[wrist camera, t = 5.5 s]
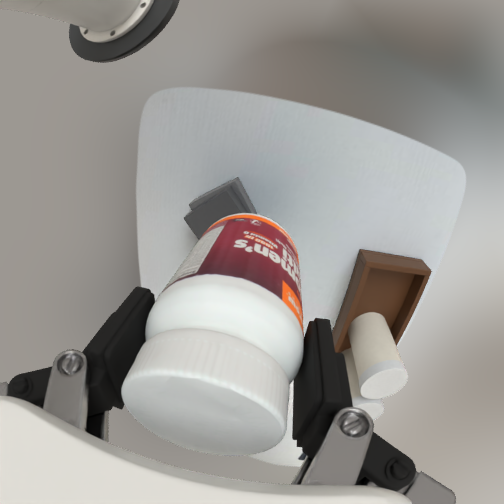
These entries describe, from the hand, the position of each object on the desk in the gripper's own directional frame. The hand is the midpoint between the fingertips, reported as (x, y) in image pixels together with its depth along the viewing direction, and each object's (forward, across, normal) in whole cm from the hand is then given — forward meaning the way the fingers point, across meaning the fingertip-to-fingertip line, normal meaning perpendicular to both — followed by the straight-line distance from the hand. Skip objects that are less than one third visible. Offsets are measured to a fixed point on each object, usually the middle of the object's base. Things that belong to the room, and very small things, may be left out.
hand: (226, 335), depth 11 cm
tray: (+23, -18, +18) cm, 34 cm away
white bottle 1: (+22, -18, +16) cm, 33 cm away
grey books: (+23, +3, +3) cm, 23 cm away
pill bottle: (+7, 0, 0) cm, 7 cm away
